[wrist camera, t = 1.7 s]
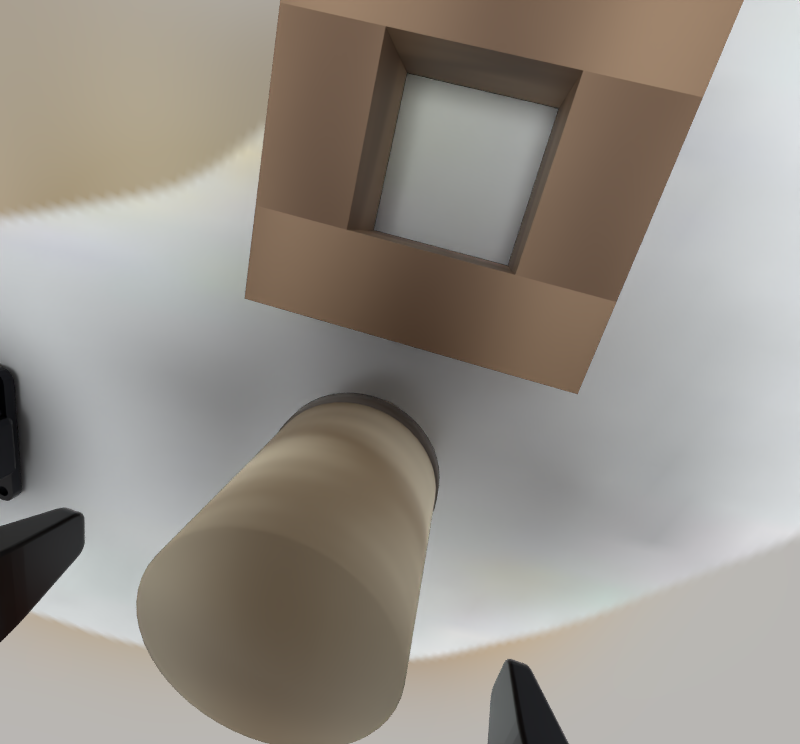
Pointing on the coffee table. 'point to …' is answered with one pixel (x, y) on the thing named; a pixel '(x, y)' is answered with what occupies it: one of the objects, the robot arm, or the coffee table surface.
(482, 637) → the coffee table surface
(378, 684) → the peg
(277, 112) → the brown square frame
